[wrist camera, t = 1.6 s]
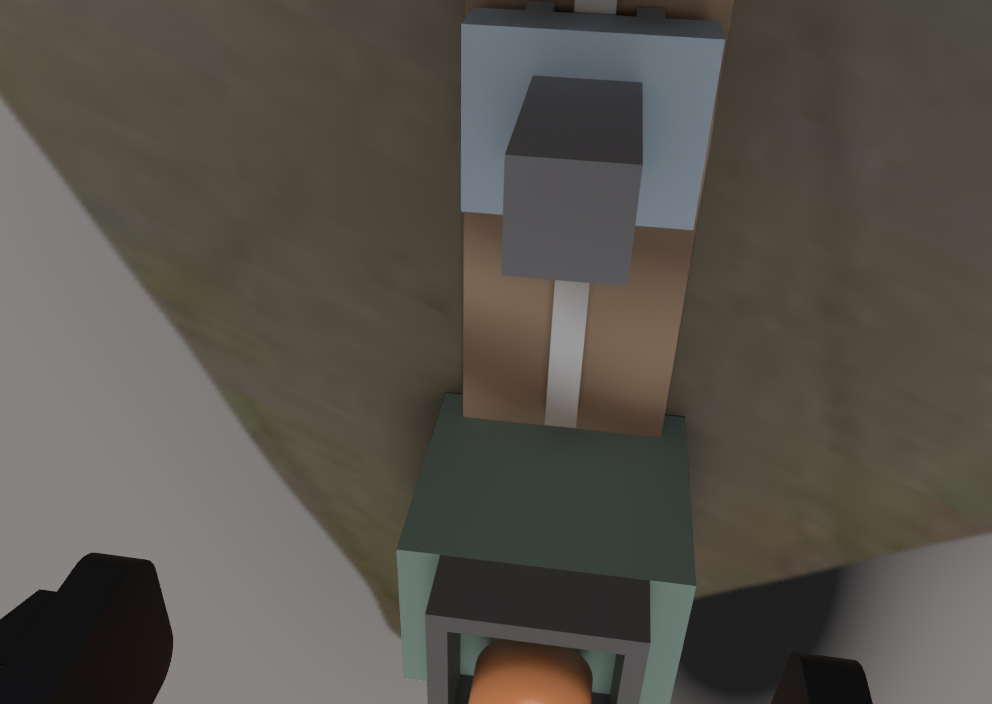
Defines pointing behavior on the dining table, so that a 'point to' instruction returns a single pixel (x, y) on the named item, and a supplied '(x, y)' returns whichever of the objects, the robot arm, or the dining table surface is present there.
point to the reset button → (530, 675)
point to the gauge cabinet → (548, 553)
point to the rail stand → (579, 306)
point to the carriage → (584, 132)
